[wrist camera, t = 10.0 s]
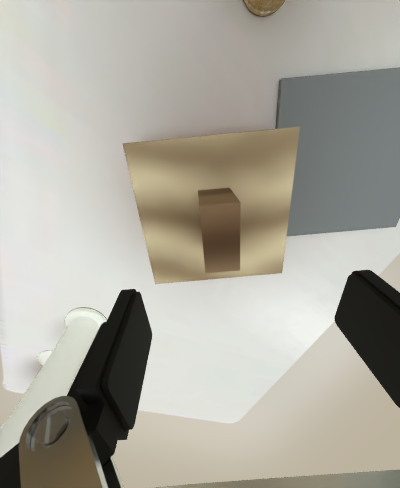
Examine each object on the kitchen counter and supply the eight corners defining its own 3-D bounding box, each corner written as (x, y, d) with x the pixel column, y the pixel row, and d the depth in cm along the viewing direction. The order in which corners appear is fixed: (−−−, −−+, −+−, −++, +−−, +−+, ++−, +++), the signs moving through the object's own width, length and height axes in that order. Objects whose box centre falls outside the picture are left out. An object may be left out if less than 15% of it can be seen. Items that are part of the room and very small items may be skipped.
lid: (125, 143, 18) (98, 145, 13) (294, 127, 18) (337, 122, 13) (156, 278, 25) (146, 316, 20) (278, 268, 25) (302, 303, 20)
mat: (279, 80, 21) (281, 78, 21) (453, 63, 21) (460, 61, 21) (267, 236, 30) (268, 237, 29) (392, 225, 29) (395, 226, 29)
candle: (94, 340, 39) (-39, 614, 16) (59, 322, 36) (-154, 615, 14) (116, 321, 36) (-3, 606, 14) (80, 300, 34) (-131, 605, 12)
